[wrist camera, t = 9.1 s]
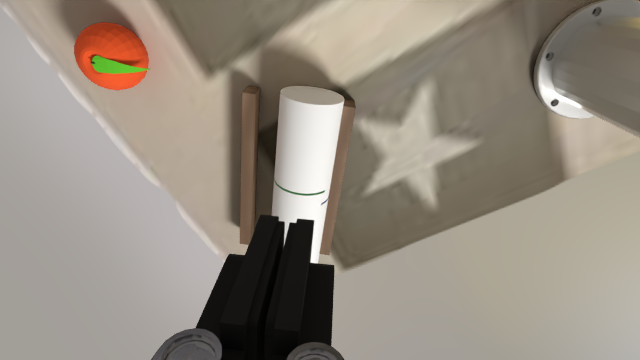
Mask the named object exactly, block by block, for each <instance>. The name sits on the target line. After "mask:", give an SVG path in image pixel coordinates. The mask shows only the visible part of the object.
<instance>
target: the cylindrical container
mask: <svg viewBox="0 0 640 360" xmlns="http://www.w3.org/2000/svg"><path fill="white" fill-rule="evenodd" d="M343 105H344V97H343V96H342V95H340V94H338V93H336V92H334V91H331V90H327V89H323V88H318V87H311V86H290V87H285V88H283V89H281V91H280V102H279V117H278V131H277V146H276V160H275V175H274V189H273V203H272V216H278V217H279V221H283V222H285V233H284V244H285V240H286V236H287V231H288V227H289V223H290V222H292V223H296V221H297V218H298V219H307V220H314V230H313V240H312V251H311V261H310V263H318V259H319V253H320V247H321V241H322V234H323V228H324V222H325V216H326V210H327V204H328V196H329V191H330V185H331V179H332V173H333V166H334V160H335V154H336V148H337V142H338V136H339V129H340V123H341V117H342V111H343Z"/></svg>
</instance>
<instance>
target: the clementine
mask: <svg viewBox="0 0 640 360" xmlns="http://www.w3.org/2000/svg"><path fill="white" fill-rule="evenodd" d="M74 54H75V58H76V62H77V64H78V66H79V68H80V69H81V71H82V72H83V73H84V75H85V76H86V77H87V78H88V79H89V80H91V81H92V82H93V83H95V84H97V85H98V86H101V87H104V88H107V89H112V90H122V89H128V88H131V87H133V86H135V85H137V84H138V83H139V82H140V81H141V80H142V79H143V78H144V77H145V75H146V72H147V70H149V69H148V62H149V59H148V53H147V51H146V48H145V46H144V44H143V43H142V41H141V40H140V39H139V38H138V37H137V36H136V35H135V34H134V33H133V32H131V31H130V30H128V29H127V28H125V27H124V26H121V25H118V24H115V23H104V22H101V23H96V24H93V25H90V26H89V27H87V28H85V29H84V30H83V31H82V32H81V33H80V35H79V36H78V38H77V39H76V42H75V46H74Z"/></svg>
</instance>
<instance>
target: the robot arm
mask: <svg viewBox="0 0 640 360" xmlns="http://www.w3.org/2000/svg"><path fill="white" fill-rule="evenodd" d="M592 12H593V13H592ZM547 54H548V55H547ZM546 55H547V57H546ZM534 86H535V90H536V93H537V96H538V98H539V99H540V100H541V102H542V103H543V105H545V106H546V107H547V108H548V109H549V110H551V111H553V112H555V113H556V114H558V115H561V116H564V117H567V118H574V119H584V118H591V117H598V118H600V119H602V120H604V121H606V122H608V123H610V124H612V125H614V126H616V127H618V128H620V129H623V130H625V131H627V132H629V133H631V134H633V135H635V136H637V137H639V138H640V1H637V0H601V1H597V2H593V3H591V4H589V5H587V6H584V7H582V8H580V9H579V10H577V11H576V12H574V13H572V14H571V15H569V16H568V17H567V18H566V19H565V20H564V21H562V22H561V23H560V24H559V25H558V26H557V27H556V28H555V29H554V31H553V32H552V33H551V34H550V35H549V37H548V38H547V40H546V41H545V43H544V44H543V46H542V48H541V50H540V52H539V55H538V57H537V60H536V64H535V68H534ZM552 100H553V101H552ZM313 230H314V220H307V219H298V218H297V221H296V223H292V222H290V223H289V227H288V231H287V236H286V240H285V244H284V233H285V222H283V221H279V217H278V216H271V215H260V217H259V220H258V223H257V225H256V228H255V230H254V233H253V236H252V238H251V241H250V244H249V246H248V249H247V252H246V254H245V255H236V254H229V255H228V257H227V259H226V261H225V263H224V265H223V267H222V270H221V272H220V274H219V276H218V279H217V281H216V283H215V286H214V288H213V290H212V292H211V295H210V297H209V299H208V301H207V304H206V306H205V308H204V310H203V313H202V315H201V317H200V319H199V322H198V324H197V326H196V328H194V329H188V330H184V331H181V332H179V333H176V334H175V335H173V336H172V337H170V338H169V339H167V340H166V341H165V342H164V343H163V345H162V346H161V347H160V348H159V349H158V351H157V352H156V353H155V355H154V356H153V358H152V359H151V360H344V358H343V357H342V356H341V354H340V353H339V352H338V351H337V350H336V349H334V348H333V347H332V346H331V338H332V314H333V313H332V312H333V289H334V265H327V264H318V263H310V261H311V251H312V240H313Z"/></svg>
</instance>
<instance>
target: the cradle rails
mask: <svg viewBox="0 0 640 360" xmlns="http://www.w3.org/2000/svg"><path fill="white" fill-rule="evenodd" d="M260 89H261V88H259V87H252V86H248V87H247V88H246V89H245V90H244V91H243V92H242V135H241V199H240V244H247V245H249V244H250V241H251V238H252V236H253V233H254V230H255V210H256V186H257V162H258V137H259V113H260ZM355 108H356V107H355V101H354V100H347V99H344V105H343V111H342V117H341V123H340V129H339V136H338V142H337V148H336V154H335V160H334V166H333V173H332V179H331V185H330V191H329V196H328V204H327V210H326V216H325V222H324V228H323V234H322V241H321V247H320V253H319V254H325V255H329V253H330V248H331V242H332V237H333V231H334V225H335V220H336V214H337V209H338V203H339V198H340V192H341V186H342V181H343V175H344V170H345V164H346V159H347V153H348V147H349V142H350V136H351V131H352V125H353V119H354V114H355Z"/></svg>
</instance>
